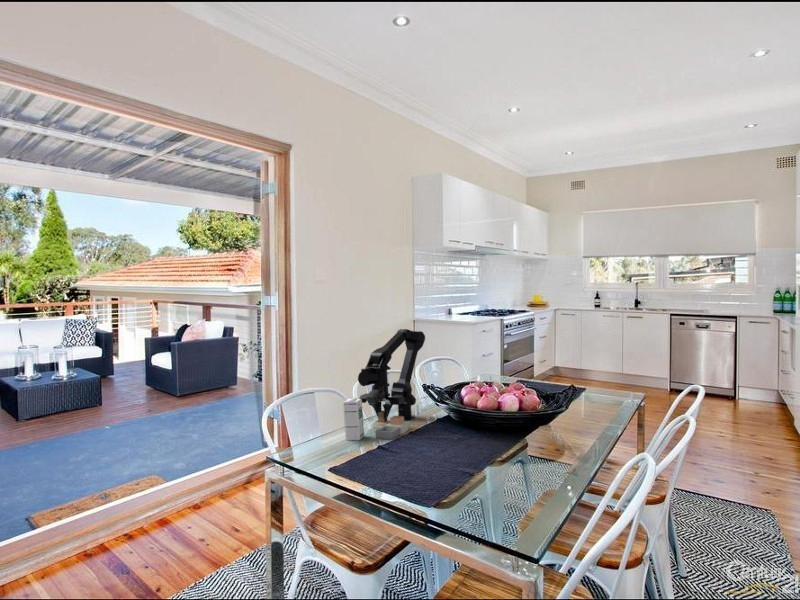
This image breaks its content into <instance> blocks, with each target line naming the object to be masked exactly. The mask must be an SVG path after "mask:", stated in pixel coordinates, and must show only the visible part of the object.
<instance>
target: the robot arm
mask: <svg viewBox="0 0 800 600" xmlns="http://www.w3.org/2000/svg"><path fill="white" fill-rule="evenodd" d="M425 341H426V335H425V334H424V332H423V331H418V330H416V331H415V330H411V329H408V328H403V329H401V328H400V329H398V330H397V331H396V333H395V334H394V335H393V336H391V338H390V339H389V340H388V341H387V342H386V343H385V344H384V345H383V346H380V347H379V348H376V349H375V350H373V351H372V352H371V353H370V354H369V358H368V361H367V363H366V365H365V368H361V371H360V372H359V373H358V376H357V380H358V383H359V385H360V386H362V387H367V386H370V385H371V391H369V392H368V393H364V394H361V395H360V396H359V397H358V398H359V399H362V404H363V403H364V404H365V403H367V404H368V405H369V406H371V407H372V408H373V410H374V411H375V414H376V416H377V418H378V412H380V411H382V407H383V411H384V418H385V420H388V418H389V415H390V412H391V409H392V407H393V406H395V405H396V406H397V413H398V415H397V416H404V421H410V420H411V419H413V417H414V418H415V417H416V415H412V406H414V405H415V404H416V401H417V398H416V397H415V396H414V394H412V392H413V389H412V385H411V384H412V383H411V380H412V377H413V372H414V368H415V363H416V360H417V355H418V352H419V351H420V350H421V349H422V348H423V347H424V343H425ZM403 344H405V347H406V352H405V355H404V358H403V363H402V366H401V370H400V375H399V379H398V380H397V381H396V382H395V381H394V382H393V383H392V385H391V390H390V393H389V387H390V383H389V381H388V379H389V378H388V370H391V367H390V366H389V365H388V364H389V363H390V361H391V360H392V358H393V357H392V356H393V354H394V352H396V351H397V350H398V348H399V347H400V346H401V345H403ZM382 402H384V404H382Z"/></svg>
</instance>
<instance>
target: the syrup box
mask: <svg viewBox="0 0 800 600" xmlns="http://www.w3.org/2000/svg"><path fill="white" fill-rule="evenodd" d="M359 398H360V397H358V398H347V400H345V401H343V402H342V405H343V406H342V407H343V417H344V418H343V420H344V433H345V435H344V436H345V441H360V440H361V439H362V438H363V437H364V436H365V430H364V429H365V428H364V414H363V403H362V399H359Z"/></svg>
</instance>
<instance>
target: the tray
mask: <svg viewBox="0 0 800 600" xmlns="http://www.w3.org/2000/svg"><path fill="white" fill-rule="evenodd" d="M374 433H375V439H378V440H386V441H387V440H388V441H389V440H390V441H393V440H394V438H395V439H396V438H398V437H400V436H402V434H401V432H400V428H399V427H398V428H396V429H395V430H393V431H391V432H389V431H386V426H384V427H382V428H377V429H376V430H375V431H374ZM399 435H400V436H399ZM392 439H393V440H392Z"/></svg>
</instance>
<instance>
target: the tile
mask: <svg viewBox="0 0 800 600" xmlns="http://www.w3.org/2000/svg"><path fill="white" fill-rule="evenodd" d="M389 420H390V425H401V424H403V423H404V422H405V420H404V416H398V415H393V416H392V417H390V418H389Z"/></svg>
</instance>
